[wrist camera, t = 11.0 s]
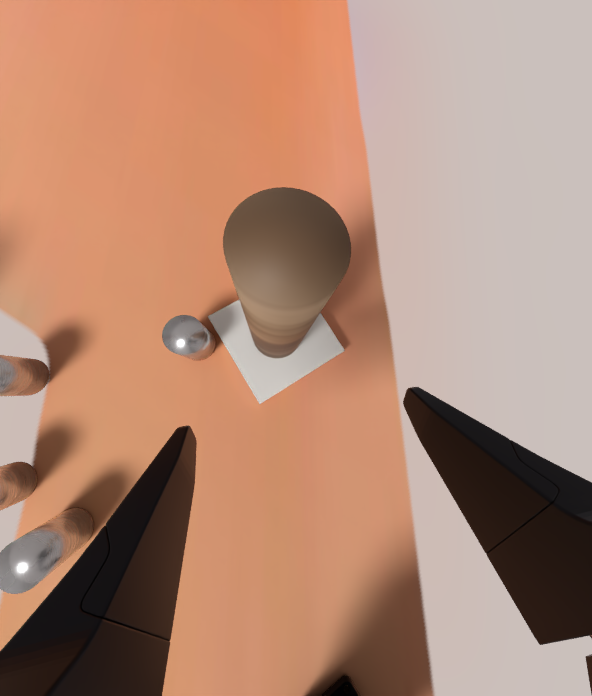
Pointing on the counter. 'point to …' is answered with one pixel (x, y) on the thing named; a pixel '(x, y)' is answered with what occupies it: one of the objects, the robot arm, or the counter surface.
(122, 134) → the counter surface
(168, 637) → the robot arm
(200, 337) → the spacer posts
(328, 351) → the rubber mat
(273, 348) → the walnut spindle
